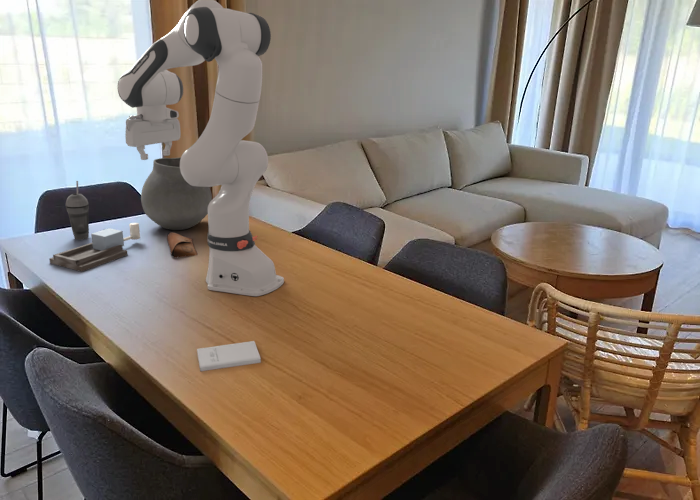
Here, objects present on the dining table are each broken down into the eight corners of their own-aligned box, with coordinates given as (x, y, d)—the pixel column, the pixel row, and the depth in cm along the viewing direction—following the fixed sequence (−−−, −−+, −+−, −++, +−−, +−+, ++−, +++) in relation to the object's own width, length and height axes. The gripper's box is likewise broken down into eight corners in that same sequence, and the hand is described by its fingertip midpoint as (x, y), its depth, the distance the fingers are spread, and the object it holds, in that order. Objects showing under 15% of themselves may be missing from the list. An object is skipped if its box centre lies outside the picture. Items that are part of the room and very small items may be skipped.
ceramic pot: (175, 241, 193) (169, 169, 185) (130, 228, 206) (122, 160, 198) (226, 225, 213) (223, 159, 205) (182, 214, 225) (177, 152, 217)
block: (145, 238, 190) (144, 224, 189) (106, 251, 177) (104, 236, 175) (132, 235, 193) (131, 221, 191) (93, 248, 179) (91, 233, 178)
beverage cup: (78, 234, 199) (70, 178, 192) (97, 235, 198) (90, 179, 191) (65, 240, 192) (56, 182, 185) (85, 241, 191) (77, 183, 184)
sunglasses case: (199, 255, 181) (187, 239, 178) (180, 267, 180) (168, 251, 177) (192, 239, 196) (180, 223, 193) (175, 250, 195) (163, 235, 192)
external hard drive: (260, 364, 119) (200, 373, 115) (254, 346, 126) (197, 354, 123) (260, 357, 119) (199, 366, 115) (254, 340, 126) (196, 347, 122)
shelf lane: (127, 255, 179) (126, 246, 178) (81, 271, 165) (80, 262, 164) (97, 247, 185) (95, 239, 184) (50, 263, 171) (48, 253, 170)
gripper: (133, 116, 167) (137, 163, 172) (182, 111, 184) (185, 154, 189) (118, 115, 170) (123, 161, 174) (167, 110, 187) (171, 152, 192)
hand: (155, 157), depth 182 cm, fingers open, 8 cm apart
